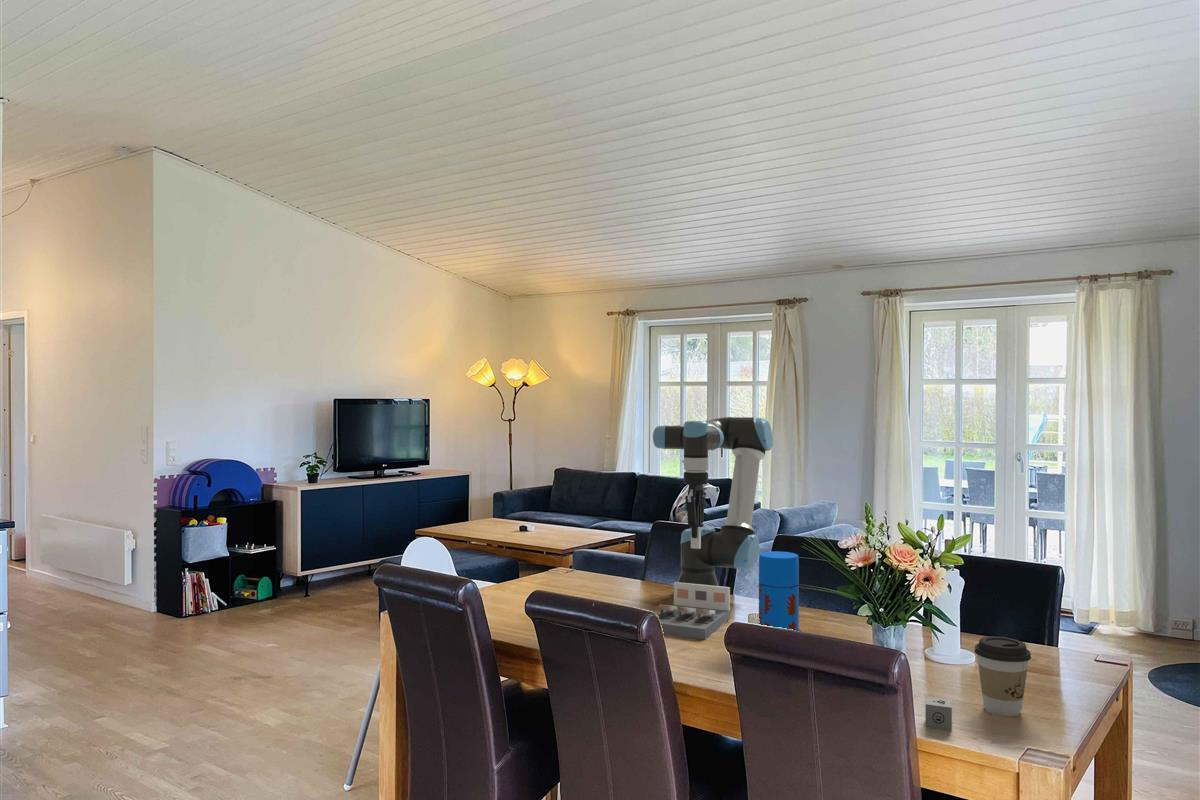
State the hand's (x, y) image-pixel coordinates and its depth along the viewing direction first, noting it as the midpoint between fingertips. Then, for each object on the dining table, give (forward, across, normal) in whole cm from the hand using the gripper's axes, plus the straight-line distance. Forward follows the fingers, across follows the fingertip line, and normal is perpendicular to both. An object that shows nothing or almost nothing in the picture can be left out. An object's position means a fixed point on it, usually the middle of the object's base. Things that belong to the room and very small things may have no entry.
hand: (695, 548), depth 260 cm
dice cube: (+23, +57, +73) cm, 95 cm away
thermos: (+23, +14, +29) cm, 39 cm away
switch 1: (+17, +8, -6) cm, 20 cm away
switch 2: (+17, +8, 0) cm, 19 cm away
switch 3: (+17, +8, +6) cm, 20 cm away
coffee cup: (+23, +42, +85) cm, 97 cm away
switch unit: (+22, +6, 0) cm, 23 cm away
